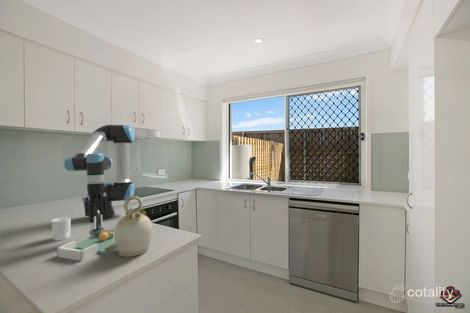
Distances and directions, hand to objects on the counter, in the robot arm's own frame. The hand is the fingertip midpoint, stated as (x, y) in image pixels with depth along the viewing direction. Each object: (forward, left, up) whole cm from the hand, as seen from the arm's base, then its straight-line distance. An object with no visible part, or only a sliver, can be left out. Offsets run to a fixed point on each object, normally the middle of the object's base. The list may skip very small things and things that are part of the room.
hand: (96, 227), depth 112 cm
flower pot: (-20, +7, -6) cm, 22 cm away
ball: (+4, +9, -2) cm, 10 cm away
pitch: (+2, +9, -6) cm, 11 cm away
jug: (+7, +30, -6) cm, 31 cm away
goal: (+17, +9, -6) cm, 20 cm away
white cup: (+5, -18, -6) cm, 20 cm away
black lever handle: (0, +5, -4) cm, 6 cm away
